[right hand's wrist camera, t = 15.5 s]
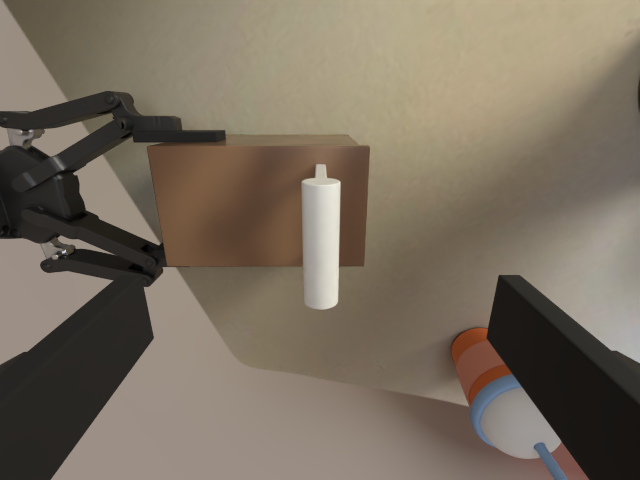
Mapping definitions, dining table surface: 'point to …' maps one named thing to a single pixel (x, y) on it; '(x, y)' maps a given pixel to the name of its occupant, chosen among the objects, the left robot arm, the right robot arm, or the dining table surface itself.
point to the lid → (265, 208)
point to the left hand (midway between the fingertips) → (226, 195)
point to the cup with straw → (501, 403)
